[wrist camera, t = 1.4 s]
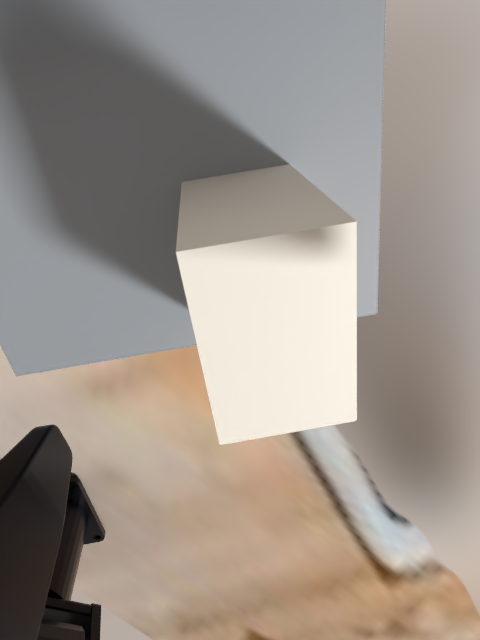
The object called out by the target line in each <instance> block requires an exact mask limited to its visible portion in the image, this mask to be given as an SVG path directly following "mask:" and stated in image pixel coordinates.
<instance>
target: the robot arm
mask: <svg viewBox="0 0 480 640" xmlns="http://www.w3.org/2000/svg"><path fill="white" fill-rule="evenodd" d="M71 467H72V452H71V449H70V447H69V445H68V444H67V442H66V440H65V438H64V437H63V435H62V433H61V431H60V430H59V428H58V427H57V426H55V425H47V426H40V427H36V428H34V429H33V430H31V431H30V432H29V433H28V434H27V435H26V436H25V437H24V438H23V439H22V440H21V441H20V442H19V443H18V444H17V445H16V446H15V447H14V448H13V449H12V450H10V451H9V452H8V453H7V454H6V455H5V456H4V457H3V458H2V459H1V460H0V640H100V620H101V605H98V604H93V603H92V604H91V605H89V604H84V603H79V602H74V601H70V600H71V595H72V591H73V587H74V582H75V578H76V574H77V569H78V565H79V561H80V556H81V552H82V548H83V544H89V543H94V542H100V541H102V540H104V537H105V530H104V528H103V526H102V524H101V522H100V520H99V518H98V515H97V513H96V511H95V509H94V507H93V505H92V503H91V501H90V499H89V497H88V495H87V493H86V491H85V489H84V487H83V485H82V483H81V481H80V479H79V478H77V477H74V476H70V474H71Z"/></svg>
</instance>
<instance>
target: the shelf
mask: <svg viewBox="0 0 480 640" xmlns="http://www.w3.org/2000/svg"><path fill="white" fill-rule="evenodd" d="M385 11H386V0H0V345H1V347H2V349H3V351H4V353H5V355H6V357H7V359H8V361H9V363H10V365H11V367H12V369H13V371H14V373H15V375H16V376H21V375H26V374H32V373H38V372H44V371H50V370H55V369H61V368H67V367H73V366H78V365H84V364H90V363H96V362H102V361H107V360H113V359H119V358H125V357H130V356H136V355H142V354H148V353H153V352H159V351H165V350H171V349H177V348H182V347H188V346H194V345H197V343H196V339H195V334H194V330H193V326H192V321H191V317H190V312H189V308H188V304H187V299H186V295H185V291H184V286H183V282H182V278H181V273H180V269H179V264H178V260H177V256H176V243H177V231H178V219H179V208H180V196H181V185H182V182H184V181H190V180H196V179H203V178H209V177H215V176H221V175H227V174H233V173H239V172H245V171H251V170H257V169H263V168H269V167H275V166H281V165H287V164H290V165H291V166H292V167H294V168H295V169H296V170H297V171H298V172H299V173H301V174H302V175H303V176H304V177H305V178H306V179H308V180H309V181H310V182H311V183H312V184H313V185H315V186H316V187H317V188H318V189H319V190H320V191H322V192H323V193H324V194H325V195H326V196H327V197H329V198H330V199H331V200H332V201H333V202H334V203H336V204H337V205H338V206H339V207H340V208H341V209H343V210H344V211H345V212H346V213H347V214H348V215H350V216H351V217H352V218H353V219H354V220H355V221H357V317H361V316H367V315H373V314H377V303H378V302H377V301H378V266H379V231H380V228H379V227H380V194H381V193H380V192H381V157H382V121H383V85H384V82H383V81H384V46H385Z"/></svg>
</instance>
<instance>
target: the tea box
mask: <svg viewBox="0 0 480 640" xmlns="http://www.w3.org/2000/svg"><path fill="white" fill-rule="evenodd" d="M176 256H177V260H178V264H179V269H180V273H181V278H182V282H183V286H184V291H185V295H186V299H187V304H188V308H189V312H190V317H191V321H192V326H193V330H194V334H195V339H196V343H197V347H198V352H199V356H200V361H201V365H202V369H203V374H204V378H205V382H206V387H207V391H208V396H209V400H210V404H211V409H212V413H213V417H214V422H215V426H216V431H217V435H218V439H219V444H220V445H223V444H229V443H234V442H240V441H245V440H251V439H257V438H262V437H268V436H274V435H279V434H285V433H290V432H296V431H302V430H307V429H313V428H319V427H324V426H330V425H335V424H341V423H347V422H352V421H357V221H355V220H354V219H353V218H352V217H351V216H350V215H348V214H347V213H346V212H345V211H344V210H343V209H341V208H340V207H339V206H338V205H337V204H336V203H334V202H333V201H332V200H331V199H330V198H329V197H327V196H326V195H325V194H324V193H323V192H322V191H320V190H319V189H318V188H317V187H316V186H315V185H313V184H312V183H311V182H310V181H309V180H308V179H306V178H305V177H304V176H303V175H302V174H301V173H299V172H298V171H297V170H296V169H295V168H294V167H292V166H291V165H290V164H287V165H281V166H275V167H269V168H263V169H257V170H251V171H245V172H239V173H233V174H227V175H221V176H215V177H209V178H203V179H196V180H190V181H184V182H182V185H181V196H180V208H179V219H178V231H177V243H176Z"/></svg>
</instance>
